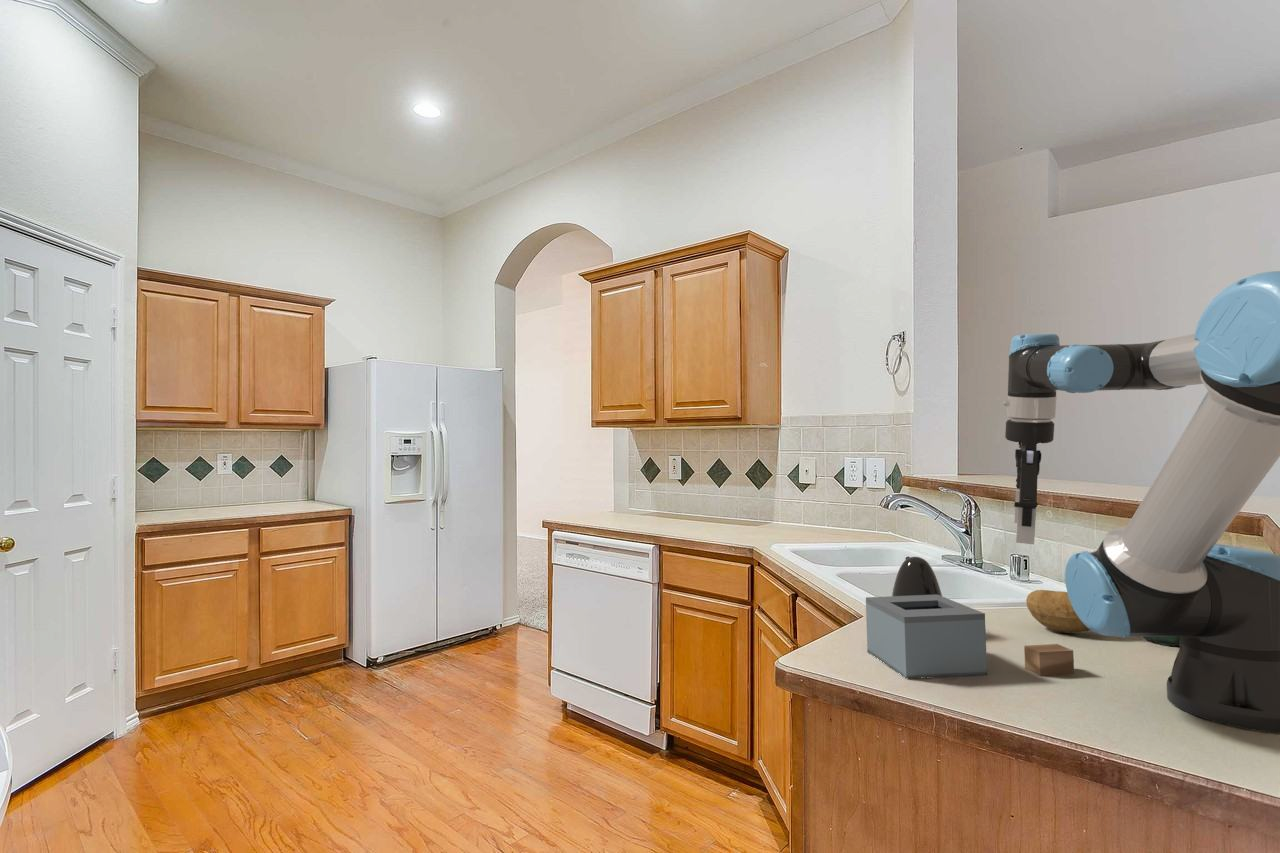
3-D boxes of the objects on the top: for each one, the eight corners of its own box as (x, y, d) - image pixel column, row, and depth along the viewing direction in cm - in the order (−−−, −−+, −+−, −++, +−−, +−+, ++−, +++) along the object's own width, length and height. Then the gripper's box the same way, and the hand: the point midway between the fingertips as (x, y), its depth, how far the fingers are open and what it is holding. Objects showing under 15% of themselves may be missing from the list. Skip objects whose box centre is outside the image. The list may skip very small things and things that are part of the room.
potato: (1113, 643, 119) (1111, 600, 119) (1026, 632, 127) (1024, 592, 127) (1110, 630, 127) (1108, 590, 127) (1028, 621, 135) (1026, 583, 135)
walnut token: (1074, 674, 104) (1073, 650, 104) (1040, 676, 103) (1039, 652, 103) (1058, 667, 107) (1057, 643, 107) (1025, 669, 107) (1024, 645, 107)
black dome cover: (934, 624, 134) (932, 552, 134) (954, 639, 123) (951, 561, 124) (885, 624, 135) (882, 552, 135) (900, 638, 124) (897, 561, 125)
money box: (987, 674, 104) (984, 613, 104) (906, 679, 103) (904, 617, 103) (939, 648, 118) (937, 594, 118) (867, 651, 117) (865, 597, 117)
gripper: (1005, 411, 127) (1000, 513, 130) (1007, 427, 106) (1000, 549, 108) (1049, 412, 123) (1043, 517, 126) (1060, 429, 102) (1052, 555, 105)
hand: (1023, 532), depth 117 cm, fingers open, 13 cm apart
